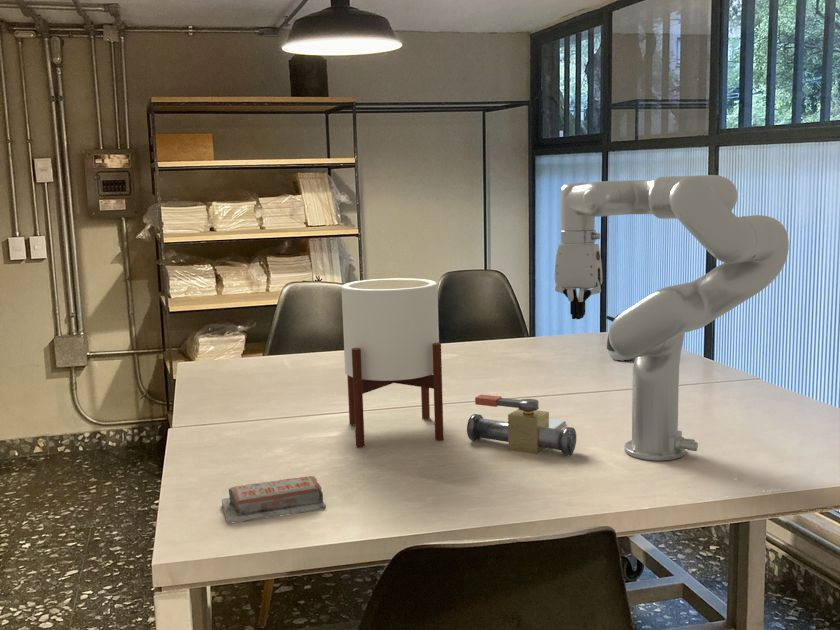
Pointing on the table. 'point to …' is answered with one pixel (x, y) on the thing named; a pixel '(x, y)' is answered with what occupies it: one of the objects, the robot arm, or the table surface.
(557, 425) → the hard drive
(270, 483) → the packaged product
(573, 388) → the table surface
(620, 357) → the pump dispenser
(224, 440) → the table surface
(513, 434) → the pipe and valve body
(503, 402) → the valve lever
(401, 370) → the plant pot with stand
